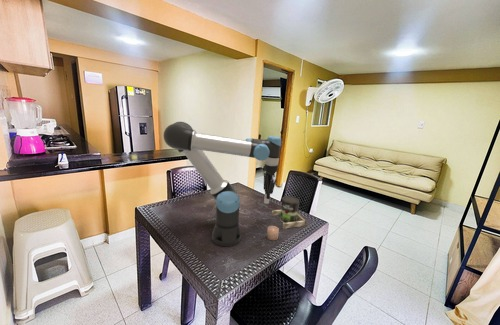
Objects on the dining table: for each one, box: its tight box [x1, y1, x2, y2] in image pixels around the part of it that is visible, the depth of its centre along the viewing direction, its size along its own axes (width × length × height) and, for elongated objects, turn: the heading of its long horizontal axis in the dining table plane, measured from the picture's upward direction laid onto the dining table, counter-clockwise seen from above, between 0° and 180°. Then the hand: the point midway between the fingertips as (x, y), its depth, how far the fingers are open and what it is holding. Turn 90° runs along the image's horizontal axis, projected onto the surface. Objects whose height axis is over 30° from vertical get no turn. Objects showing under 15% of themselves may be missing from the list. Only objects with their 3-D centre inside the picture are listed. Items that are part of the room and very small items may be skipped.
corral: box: [271, 209, 307, 230], centre depth 130 cm, size 15×16×3 cm
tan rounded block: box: [266, 225, 280, 241], centre depth 111 cm, size 6×6×5 cm
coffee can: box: [279, 195, 300, 224], centre depth 128 cm, size 10×10×14 cm
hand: (266, 203), depth 122 cm, fingers closed
